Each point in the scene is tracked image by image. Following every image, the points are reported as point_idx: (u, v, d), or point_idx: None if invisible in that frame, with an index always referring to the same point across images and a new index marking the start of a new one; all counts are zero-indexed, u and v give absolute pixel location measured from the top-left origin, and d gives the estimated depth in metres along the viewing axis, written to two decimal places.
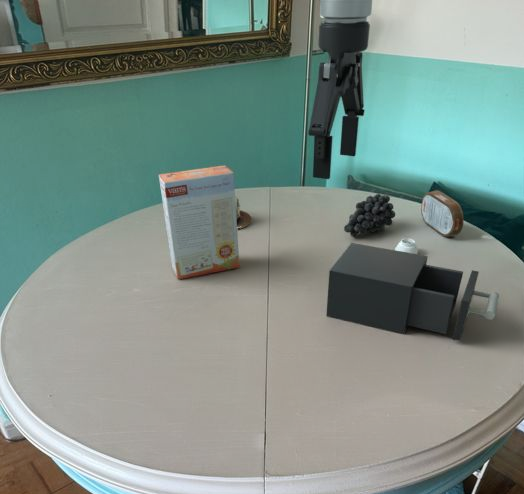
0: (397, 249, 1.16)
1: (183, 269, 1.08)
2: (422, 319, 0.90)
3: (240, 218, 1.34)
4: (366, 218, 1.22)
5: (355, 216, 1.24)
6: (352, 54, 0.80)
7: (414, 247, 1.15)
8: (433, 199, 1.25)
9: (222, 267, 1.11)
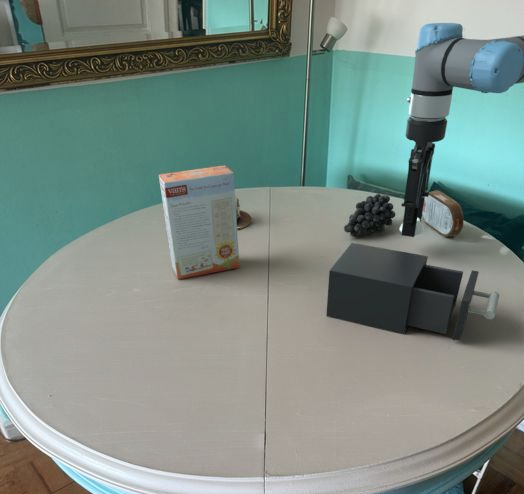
0: None
1: (183, 269, 1.08)
2: (422, 319, 0.90)
3: (240, 218, 1.34)
4: (366, 218, 1.22)
5: (355, 216, 1.24)
6: None
7: (419, 225, 1.12)
8: (433, 199, 1.25)
9: (222, 267, 1.11)
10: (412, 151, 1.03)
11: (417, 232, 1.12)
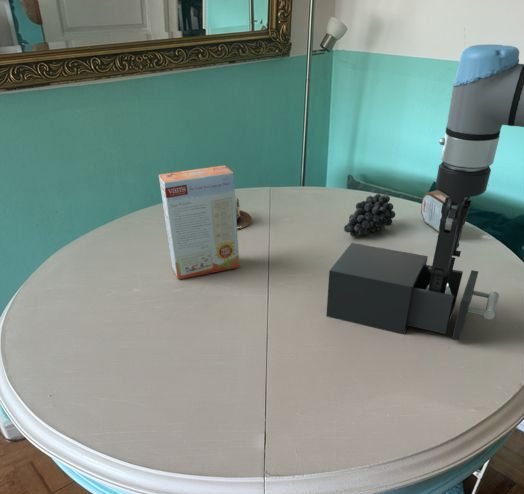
0: None
1: (183, 269, 1.08)
2: (422, 319, 0.90)
3: (240, 218, 1.34)
4: (366, 218, 1.22)
5: (355, 216, 1.24)
6: None
7: (448, 292, 0.90)
8: (433, 199, 1.25)
9: (222, 267, 1.11)
10: (444, 205, 0.81)
11: None
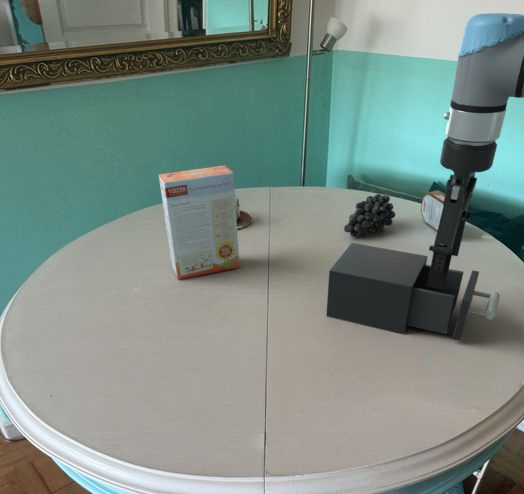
0: None
1: (183, 269, 1.08)
2: (423, 319, 0.90)
3: (240, 218, 1.34)
4: (366, 218, 1.22)
5: (355, 216, 1.24)
6: None
7: None
8: (433, 199, 1.25)
9: (222, 267, 1.11)
10: (449, 181, 0.79)
11: None
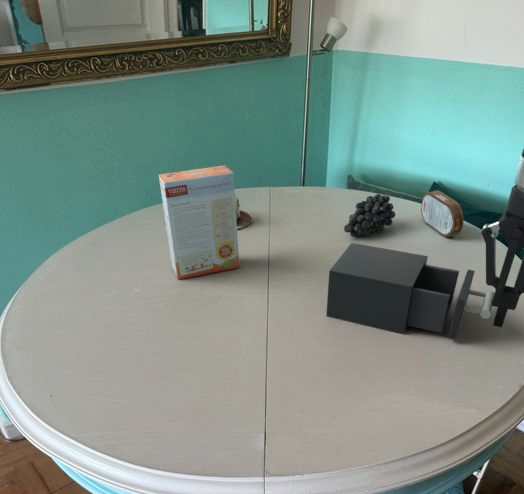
0: None
1: (183, 269, 1.08)
2: (418, 318, 0.90)
3: (240, 218, 1.34)
4: (366, 218, 1.22)
5: (355, 216, 1.24)
6: None
7: None
8: (433, 199, 1.25)
9: (222, 267, 1.11)
10: None
11: None
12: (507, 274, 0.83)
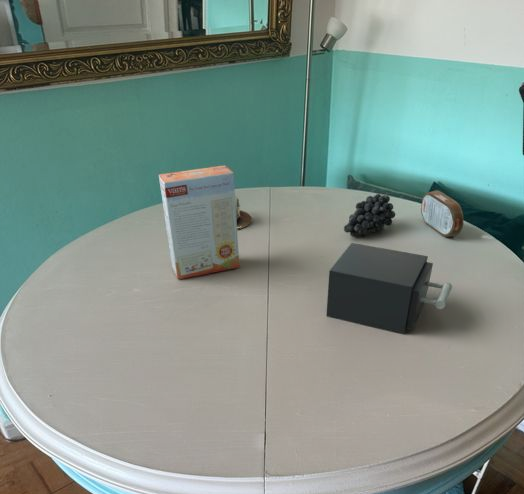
0: None
1: (183, 269, 1.08)
2: None
3: (240, 218, 1.34)
4: (366, 218, 1.22)
5: (355, 216, 1.24)
6: None
7: None
8: (433, 199, 1.25)
9: (222, 267, 1.11)
10: None
11: None
12: None
